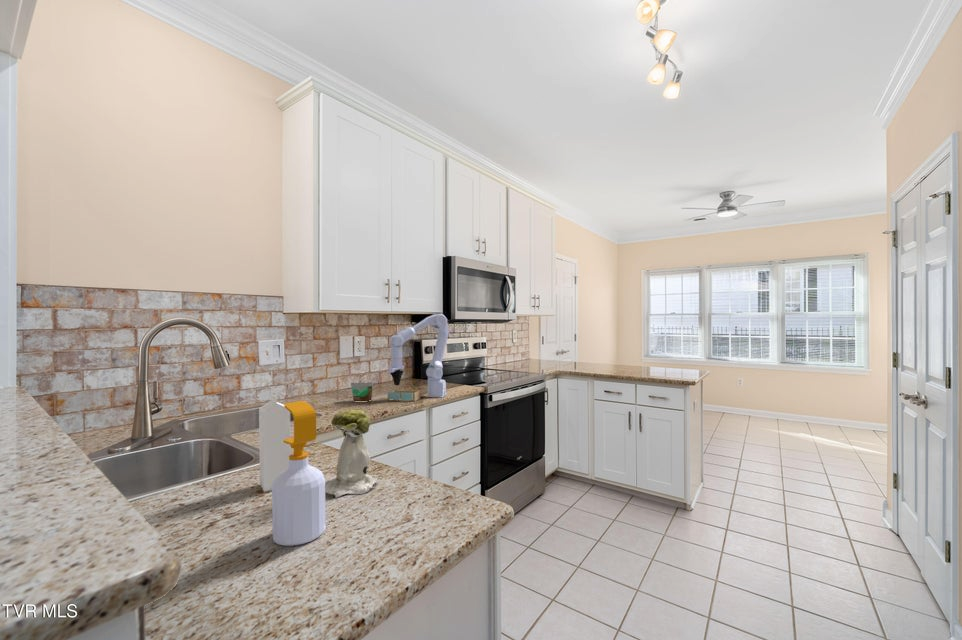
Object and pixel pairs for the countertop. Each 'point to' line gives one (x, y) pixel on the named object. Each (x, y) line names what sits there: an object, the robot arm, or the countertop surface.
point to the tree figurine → (351, 455)
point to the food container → (362, 391)
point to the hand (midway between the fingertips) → (396, 385)
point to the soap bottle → (299, 486)
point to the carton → (415, 393)
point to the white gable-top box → (273, 442)
